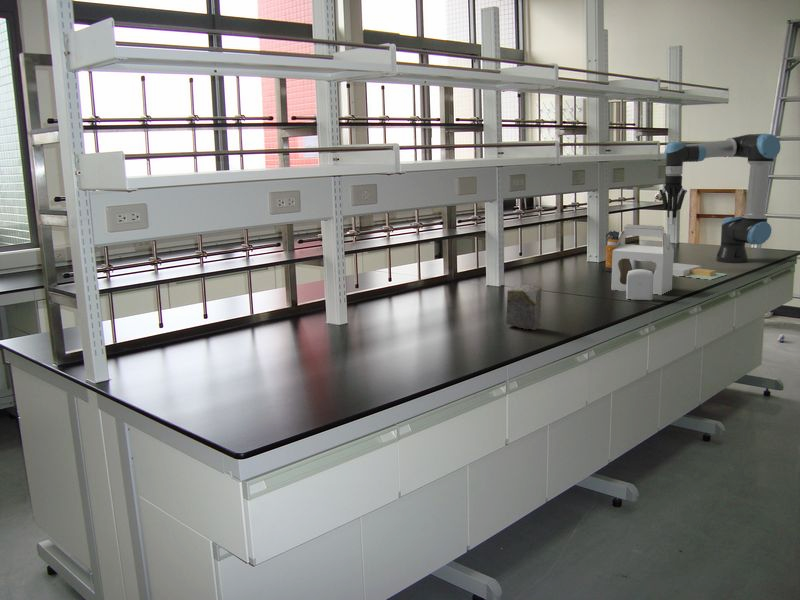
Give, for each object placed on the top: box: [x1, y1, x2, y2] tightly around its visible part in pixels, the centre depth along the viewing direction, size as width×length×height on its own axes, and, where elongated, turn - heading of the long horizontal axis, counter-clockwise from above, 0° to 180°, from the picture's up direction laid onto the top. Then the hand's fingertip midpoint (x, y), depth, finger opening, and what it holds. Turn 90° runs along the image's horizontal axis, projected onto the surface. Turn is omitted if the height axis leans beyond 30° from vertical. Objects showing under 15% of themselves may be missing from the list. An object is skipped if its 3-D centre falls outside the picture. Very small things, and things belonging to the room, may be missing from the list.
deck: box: [654, 262, 702, 277], centre depth 353 cm, size 18×14×3 cm
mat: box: [684, 272, 728, 281], centre depth 343 cm, size 18×12×1 cm, turn 133°
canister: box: [604, 230, 620, 273], centre depth 360 cm, size 9×11×20 cm
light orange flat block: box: [691, 268, 717, 276], centre depth 345 cm, size 9×6×2 cm, turn 42°
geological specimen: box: [505, 284, 542, 331], centre depth 254 cm, size 11×6×15 cm, turn 56°
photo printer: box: [625, 268, 654, 301], centre depth 295 cm, size 10×4×12 cm, turn 72°
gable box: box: [610, 224, 675, 296], centre depth 312 cm, size 22×13×28 cm, turn 52°
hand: (671, 224), depth 355 cm, fingers closed
